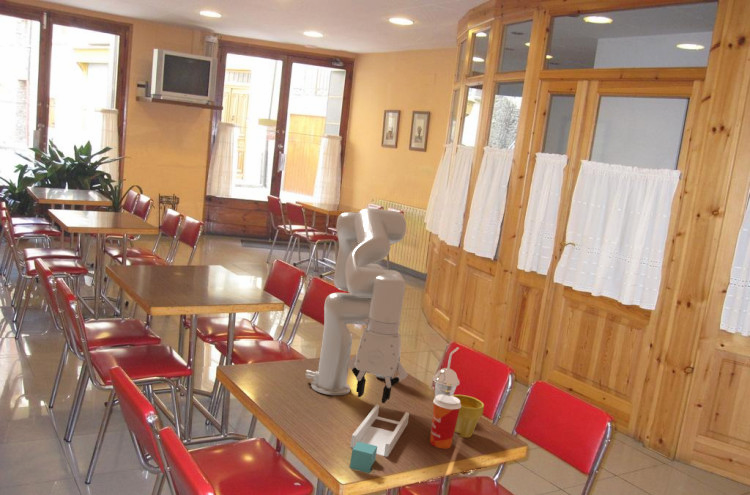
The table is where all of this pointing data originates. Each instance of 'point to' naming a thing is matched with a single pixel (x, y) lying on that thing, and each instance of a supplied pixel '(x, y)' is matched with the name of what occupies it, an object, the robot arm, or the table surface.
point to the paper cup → (444, 420)
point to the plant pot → (468, 415)
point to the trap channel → (379, 433)
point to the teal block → (363, 457)
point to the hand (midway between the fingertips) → (372, 397)
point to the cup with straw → (446, 379)
